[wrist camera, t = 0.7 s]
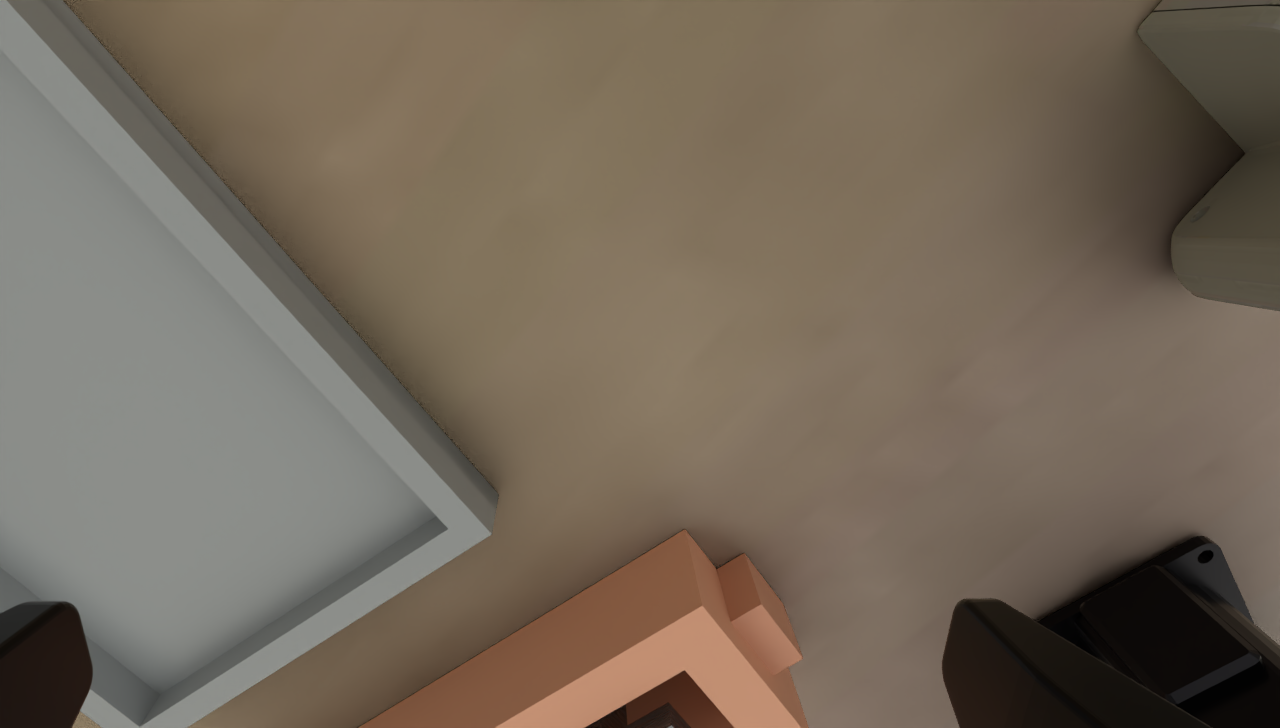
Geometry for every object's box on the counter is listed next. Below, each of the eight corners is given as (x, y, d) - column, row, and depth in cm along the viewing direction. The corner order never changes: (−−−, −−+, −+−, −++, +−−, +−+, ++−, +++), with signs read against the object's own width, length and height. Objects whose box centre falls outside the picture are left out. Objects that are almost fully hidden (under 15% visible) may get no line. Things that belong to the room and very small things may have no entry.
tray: (498, 494, 23) (492, 534, 21) (173, 703, 25) (140, 756, 23) (-148, -238, 16) (-244, -275, 14) (-536, 135, 18) (-667, 146, 16)
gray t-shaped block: (682, 649, 25) (701, 758, 21) (580, 708, 26) (580, 825, 22) (656, 619, 25) (671, 725, 21) (552, 680, 25) (548, 794, 22)
